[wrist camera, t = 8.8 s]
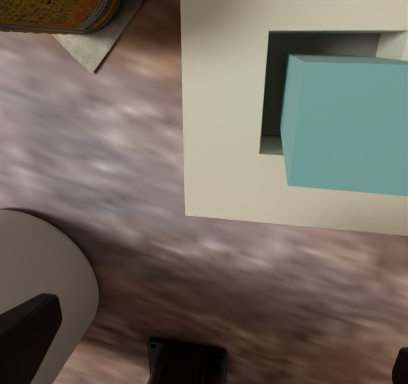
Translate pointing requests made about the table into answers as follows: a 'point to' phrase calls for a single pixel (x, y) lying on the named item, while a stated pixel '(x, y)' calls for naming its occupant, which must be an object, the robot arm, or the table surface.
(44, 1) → the condiment
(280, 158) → the socket block
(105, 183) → the table surface
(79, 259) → the cylinder vase
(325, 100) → the peg
